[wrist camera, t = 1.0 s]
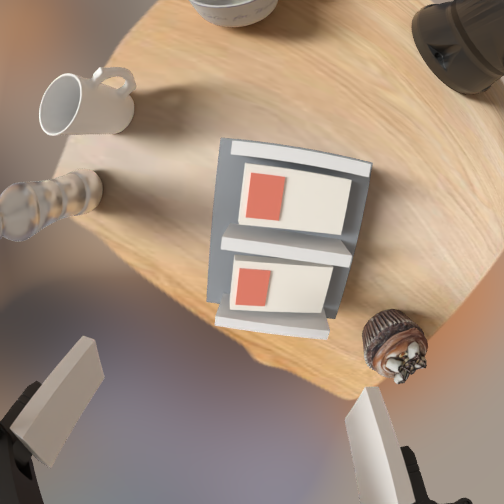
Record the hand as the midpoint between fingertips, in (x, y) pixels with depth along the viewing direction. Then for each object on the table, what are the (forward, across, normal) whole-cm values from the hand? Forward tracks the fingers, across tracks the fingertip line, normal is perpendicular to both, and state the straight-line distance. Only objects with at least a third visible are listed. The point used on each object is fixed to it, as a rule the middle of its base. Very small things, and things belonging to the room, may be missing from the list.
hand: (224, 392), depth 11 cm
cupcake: (+25, +23, -11) cm, 35 cm away
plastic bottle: (+25, -25, +4) cm, 35 cm away
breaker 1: (+18, +3, +7) cm, 19 cm away
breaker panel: (+25, +3, +2) cm, 25 cm away
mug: (+25, -20, +16) cm, 36 cm away
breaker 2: (+18, +4, -2) cm, 18 cm away
